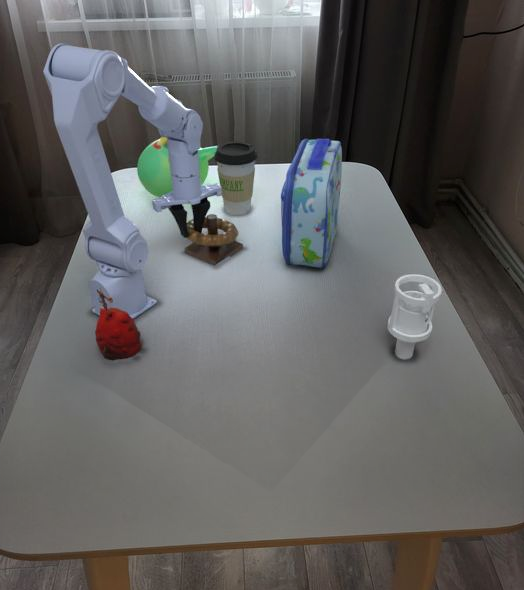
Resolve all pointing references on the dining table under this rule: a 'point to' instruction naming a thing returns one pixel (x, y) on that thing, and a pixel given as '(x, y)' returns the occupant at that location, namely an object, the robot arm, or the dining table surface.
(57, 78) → the robot arm
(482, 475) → the dining table surface
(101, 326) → the red rounded lump
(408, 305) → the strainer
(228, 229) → the ring
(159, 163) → the toy bird
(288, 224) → the lunch box
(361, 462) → the dining table surface
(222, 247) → the post
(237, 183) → the coffee cup
